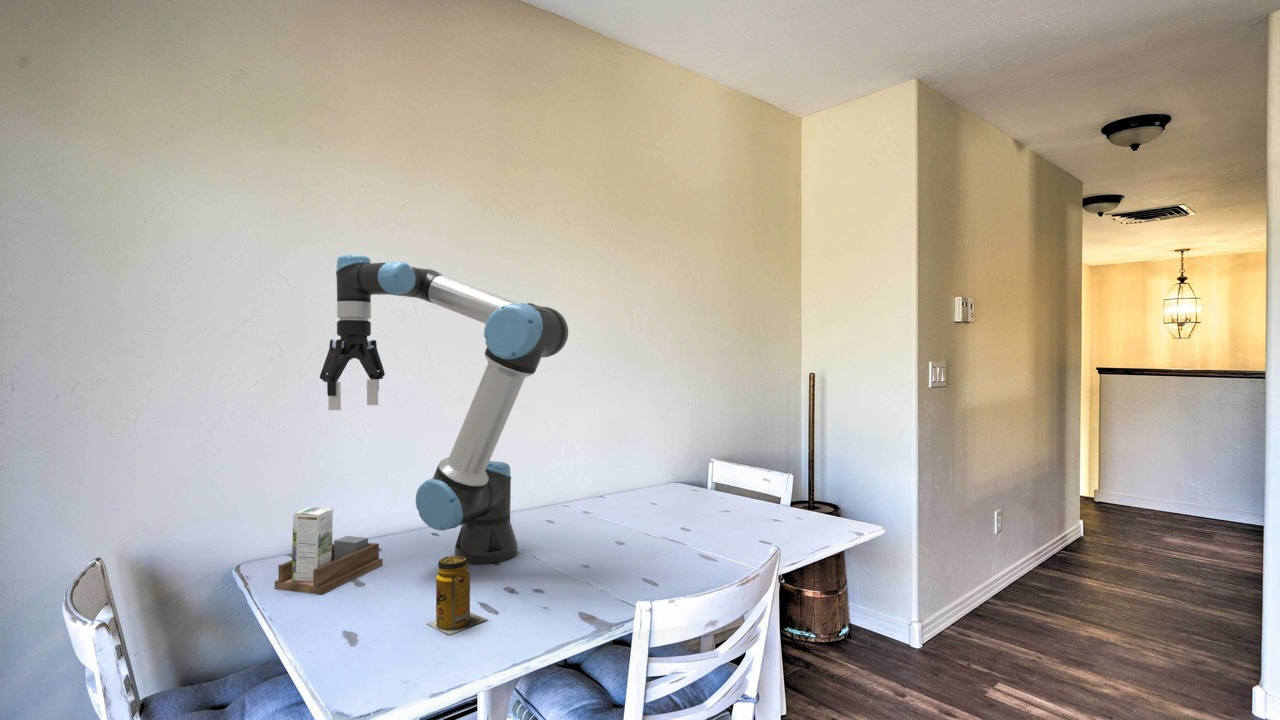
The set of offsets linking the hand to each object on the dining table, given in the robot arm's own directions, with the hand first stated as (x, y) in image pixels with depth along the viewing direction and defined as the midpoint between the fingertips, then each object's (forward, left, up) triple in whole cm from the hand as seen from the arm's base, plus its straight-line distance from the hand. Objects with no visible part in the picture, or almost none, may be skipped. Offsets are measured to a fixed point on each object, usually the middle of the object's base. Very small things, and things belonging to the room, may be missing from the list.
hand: (354, 407), depth 157 cm
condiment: (-45, +26, -37) cm, 63 cm away
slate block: (-5, +6, -35) cm, 36 cm away
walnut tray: (-5, +13, -36) cm, 39 cm away
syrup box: (-5, +18, -35) cm, 40 cm away
